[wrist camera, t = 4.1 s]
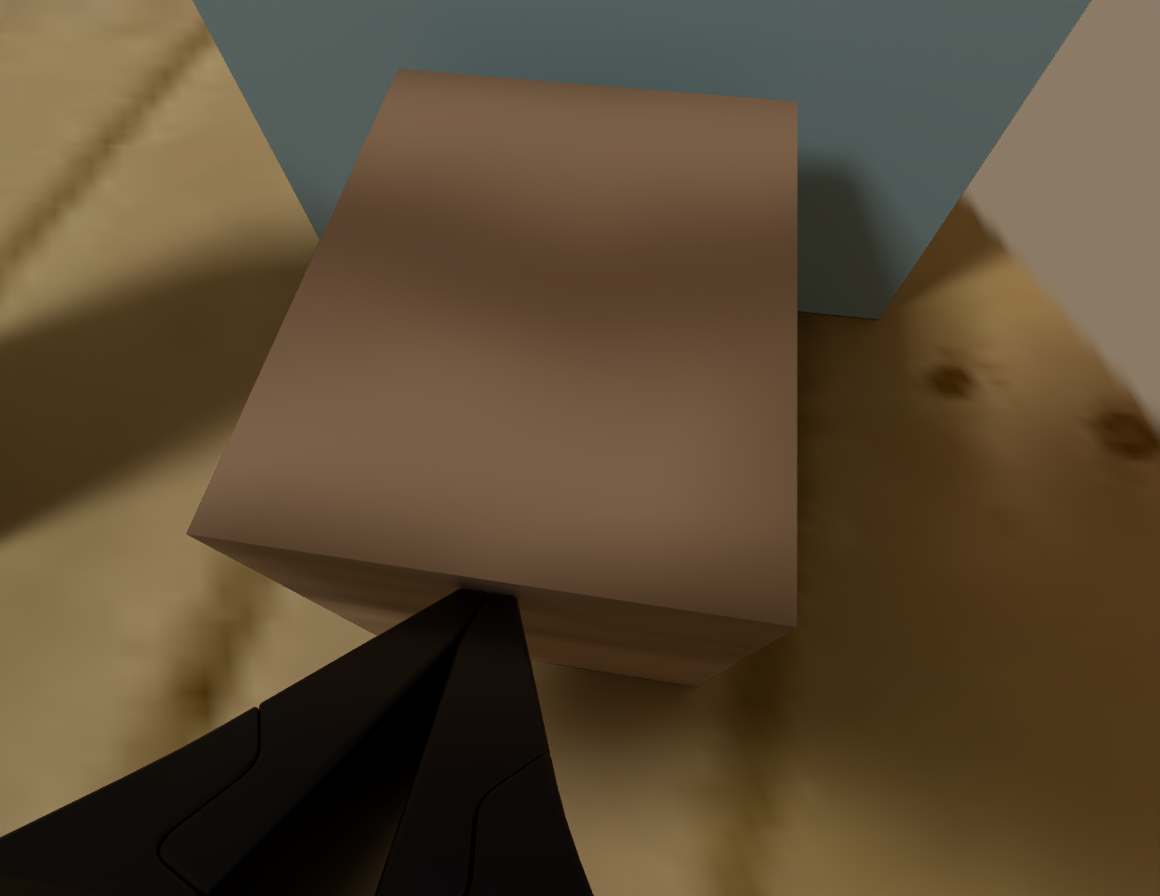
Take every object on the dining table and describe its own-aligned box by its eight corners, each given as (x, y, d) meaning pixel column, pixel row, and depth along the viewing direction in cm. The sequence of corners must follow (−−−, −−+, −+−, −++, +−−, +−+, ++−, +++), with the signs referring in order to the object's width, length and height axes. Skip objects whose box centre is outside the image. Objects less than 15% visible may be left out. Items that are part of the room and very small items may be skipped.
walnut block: (696, 687, 15) (796, 627, 8) (375, 635, 15) (186, 534, 8) (719, 346, 19) (797, 101, 12) (469, 317, 20) (398, 68, 13)
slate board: (878, 319, 19) (1126, -53, 10) (332, 263, 21) (135, -106, 12) (873, 259, 20) (1094, -124, 12) (354, 210, 22) (190, -165, 13)
